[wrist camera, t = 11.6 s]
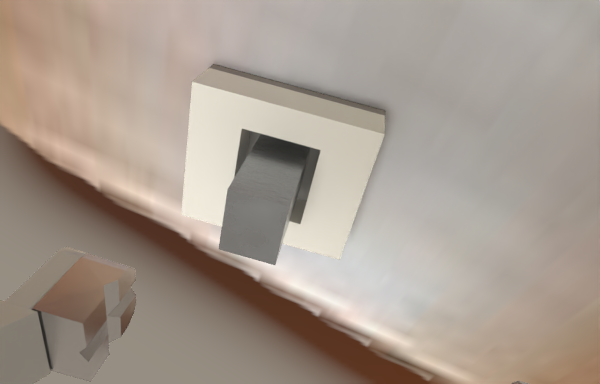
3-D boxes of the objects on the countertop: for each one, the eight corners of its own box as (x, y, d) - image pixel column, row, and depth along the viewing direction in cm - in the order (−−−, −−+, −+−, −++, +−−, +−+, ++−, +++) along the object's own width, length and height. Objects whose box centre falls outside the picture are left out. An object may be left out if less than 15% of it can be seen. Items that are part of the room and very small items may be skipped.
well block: (384, 110, 34) (384, 134, 30) (344, 228, 41) (339, 259, 37) (213, 64, 34) (192, 81, 31) (200, 188, 41) (181, 215, 37)
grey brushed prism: (312, 139, 35) (289, 206, 27) (299, 189, 38) (275, 265, 30) (265, 126, 35) (227, 189, 27) (255, 177, 38) (218, 249, 30)
